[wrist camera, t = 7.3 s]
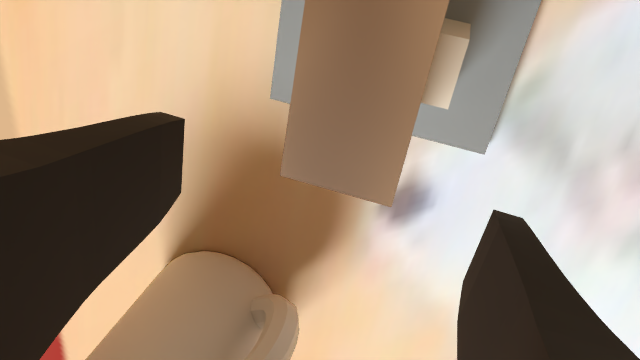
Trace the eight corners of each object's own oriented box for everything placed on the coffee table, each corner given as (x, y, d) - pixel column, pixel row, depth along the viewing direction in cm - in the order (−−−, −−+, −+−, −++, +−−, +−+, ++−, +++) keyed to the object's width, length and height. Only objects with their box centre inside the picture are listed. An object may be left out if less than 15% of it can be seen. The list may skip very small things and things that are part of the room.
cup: (139, 263, 29) (22, 390, 22) (286, 217, 25) (204, 354, 18) (204, 356, 32) (119, 500, 24) (349, 328, 28) (300, 492, 20)
